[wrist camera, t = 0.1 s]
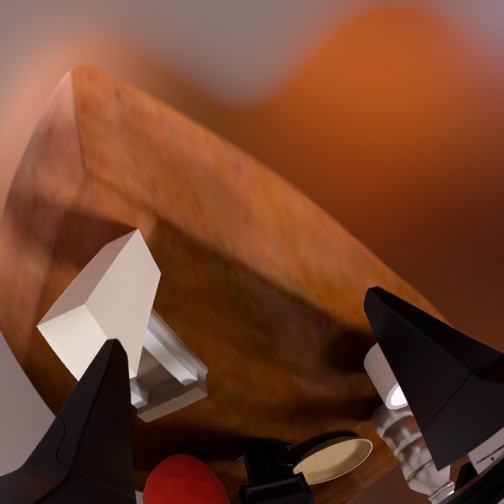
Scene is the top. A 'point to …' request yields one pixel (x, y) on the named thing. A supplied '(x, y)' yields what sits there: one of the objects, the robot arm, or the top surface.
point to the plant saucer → (332, 458)
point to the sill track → (166, 373)
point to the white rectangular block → (105, 305)
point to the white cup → (384, 378)
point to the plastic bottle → (412, 452)
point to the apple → (183, 483)
